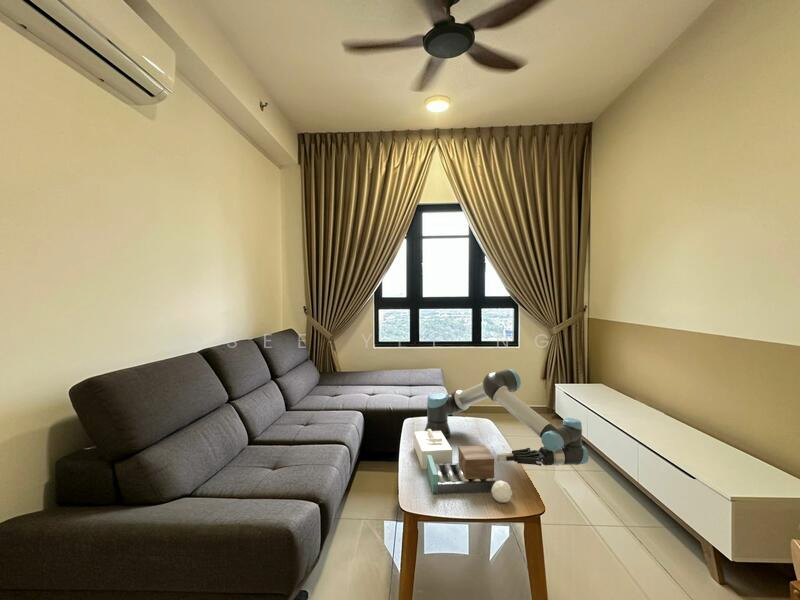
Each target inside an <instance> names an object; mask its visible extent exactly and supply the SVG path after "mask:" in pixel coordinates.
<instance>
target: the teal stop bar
mask: <svg viewBox="0 0 800 600" xmlns="http://www.w3.org/2000/svg"><path fill="white" fill-rule="evenodd" d="M427 465H428V466H427V467H428V468H427V469H428V471H427V469H426V474H427V477H428V480H429V483H430V489H431V492H432V494H433V495H439V494H438V491H437V489H436V487H435V486H434V484H435V485H436V486H437V488H438V485H437V484H438V473H437V470H436V467H435V464H434V461H433V458H432V455H427ZM427 472H428V473H427ZM434 487H435V489H433V488H434ZM436 493H437V494H436Z"/></svg>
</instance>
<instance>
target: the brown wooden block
mask: <svg viewBox="0 0 800 600" xmlns="http://www.w3.org/2000/svg"><path fill="white" fill-rule="evenodd" d="M457 452H458V463H459V466H460V468H461V470H462V472H463V474H464V476H465V478H466V479H468V480H472V479H480V480H484V479H483V478H492V479H495V458H494V456H493V455H492V454H491V452H490V451H489V450H488V447H486V445H458V451H457Z"/></svg>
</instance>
